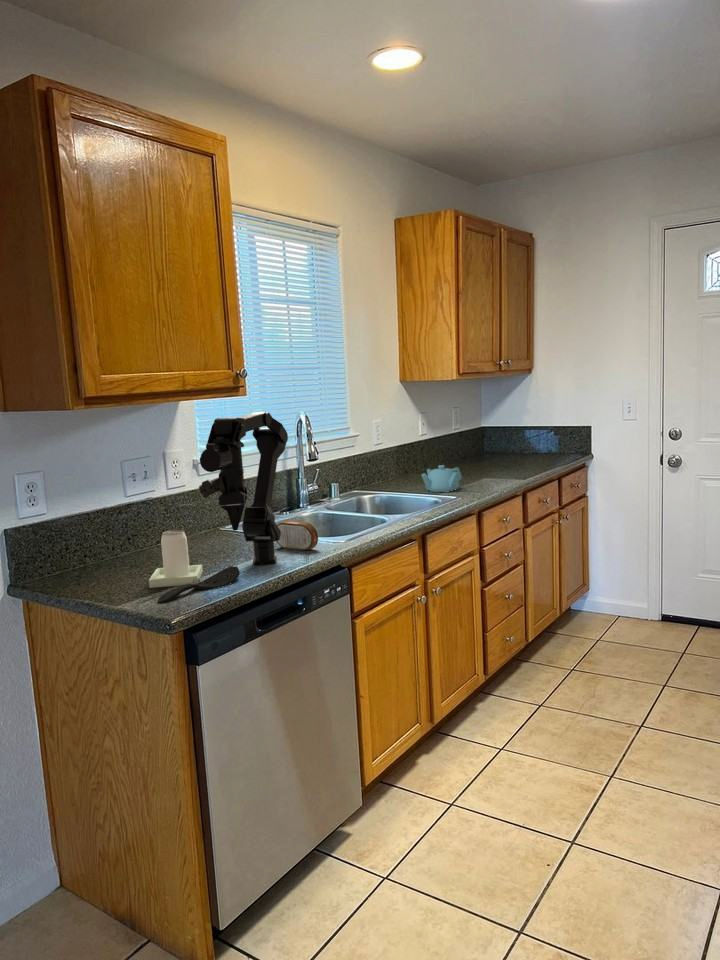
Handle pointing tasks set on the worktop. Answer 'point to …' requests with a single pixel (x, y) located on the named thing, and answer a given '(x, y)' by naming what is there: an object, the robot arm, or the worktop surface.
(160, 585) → the tray
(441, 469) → the teapot
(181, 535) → the can
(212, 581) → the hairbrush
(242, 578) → the worktop surface
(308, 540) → the tin
